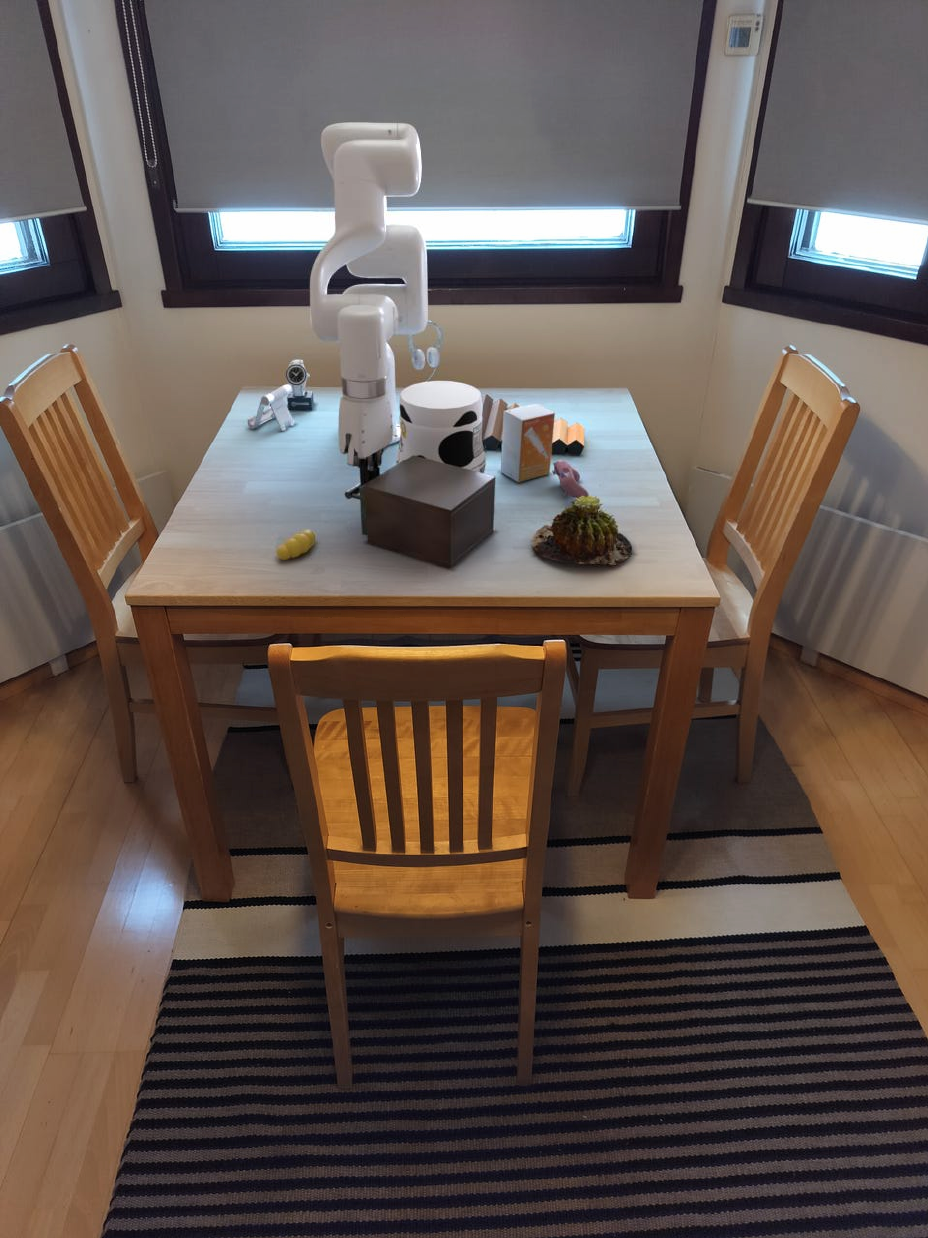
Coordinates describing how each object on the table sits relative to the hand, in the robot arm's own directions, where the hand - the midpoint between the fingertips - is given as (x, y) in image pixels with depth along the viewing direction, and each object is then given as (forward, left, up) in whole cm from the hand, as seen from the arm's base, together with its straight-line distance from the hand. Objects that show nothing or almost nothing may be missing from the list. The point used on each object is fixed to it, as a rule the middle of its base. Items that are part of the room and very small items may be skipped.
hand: (370, 487), depth 147 cm
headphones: (-23, +54, -7) cm, 59 cm away
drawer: (+8, 0, -6) cm, 9 cm away
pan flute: (+4, +54, -7) cm, 54 cm away
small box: (+14, +33, -7) cm, 36 cm away
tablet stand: (-46, +26, -7) cm, 53 cm away
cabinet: (+12, 0, -7) cm, 14 cm away
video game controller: (+25, +30, -7) cm, 40 cm away
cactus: (+36, +11, -7) cm, 39 cm away
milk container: (+2, +20, -7) cm, 21 cm away
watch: (-48, +38, -7) cm, 61 cm away
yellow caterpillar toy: (-4, -16, -7) cm, 17 cm away
